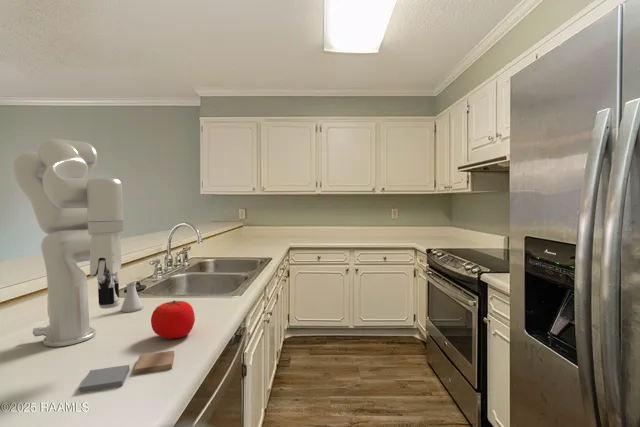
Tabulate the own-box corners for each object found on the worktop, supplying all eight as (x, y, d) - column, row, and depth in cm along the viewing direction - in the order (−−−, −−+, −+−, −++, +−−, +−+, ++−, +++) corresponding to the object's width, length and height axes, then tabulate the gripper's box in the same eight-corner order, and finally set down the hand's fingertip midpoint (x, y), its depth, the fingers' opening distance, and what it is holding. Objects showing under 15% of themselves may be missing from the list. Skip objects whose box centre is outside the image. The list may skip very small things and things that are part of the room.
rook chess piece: (122, 305, 89) (121, 274, 89) (102, 310, 86) (101, 277, 86) (116, 302, 92) (114, 271, 92) (96, 306, 89) (95, 274, 89)
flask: (134, 313, 128) (133, 285, 128) (116, 312, 129) (115, 285, 129) (147, 307, 135) (146, 280, 135) (130, 306, 137) (129, 280, 136)
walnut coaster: (134, 374, 82) (134, 369, 82) (140, 359, 90) (139, 355, 90) (171, 368, 85) (171, 363, 85) (174, 355, 92) (174, 350, 92)
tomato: (203, 331, 109) (202, 297, 109) (178, 346, 98) (177, 308, 98) (171, 327, 113) (169, 294, 112) (142, 342, 101) (141, 305, 101)
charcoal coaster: (79, 393, 75) (78, 387, 75) (90, 375, 82) (90, 370, 82) (122, 386, 77) (122, 380, 77) (129, 369, 85) (129, 364, 85)
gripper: (98, 226, 95) (101, 294, 96) (77, 231, 79) (80, 313, 80) (130, 225, 97) (132, 292, 98) (115, 230, 81) (118, 309, 82)
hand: (109, 300), depth 89 cm, fingers closed on rook chess piece, 4 cm apart
